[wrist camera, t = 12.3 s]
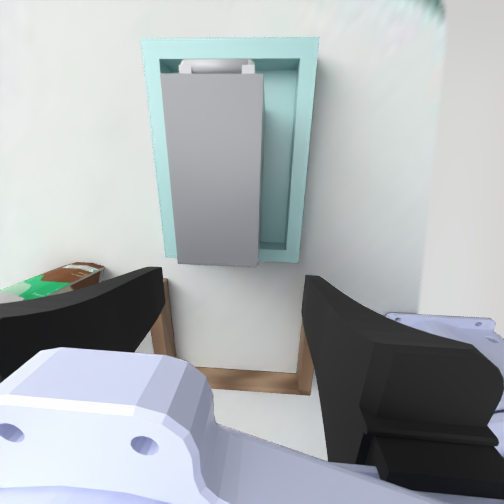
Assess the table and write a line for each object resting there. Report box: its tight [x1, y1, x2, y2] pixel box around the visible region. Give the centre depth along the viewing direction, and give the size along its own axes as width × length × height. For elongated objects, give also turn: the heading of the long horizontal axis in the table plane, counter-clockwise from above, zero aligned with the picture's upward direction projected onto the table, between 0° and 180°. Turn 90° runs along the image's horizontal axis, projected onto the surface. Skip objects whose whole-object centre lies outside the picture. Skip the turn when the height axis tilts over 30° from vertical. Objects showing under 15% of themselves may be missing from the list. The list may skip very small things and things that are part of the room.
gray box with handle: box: [160, 59, 265, 267], centre depth 15 cm, size 4×10×7 cm, turn 179°
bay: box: [151, 279, 314, 395], centre depth 23 cm, size 15×11×2 cm
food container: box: [0, 262, 104, 304], centre depth 19 cm, size 12×6×10 cm, turn 158°
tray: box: [141, 37, 319, 263], centre depth 18 cm, size 10×14×2 cm
